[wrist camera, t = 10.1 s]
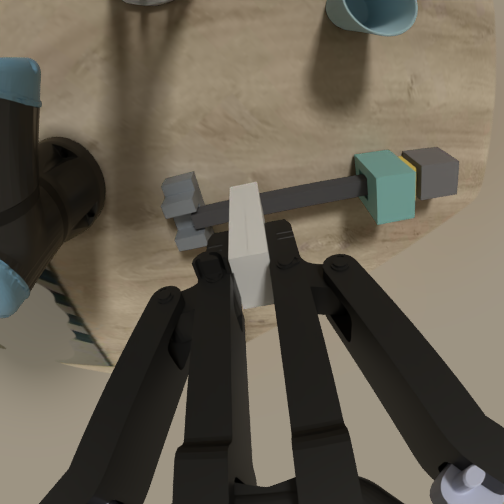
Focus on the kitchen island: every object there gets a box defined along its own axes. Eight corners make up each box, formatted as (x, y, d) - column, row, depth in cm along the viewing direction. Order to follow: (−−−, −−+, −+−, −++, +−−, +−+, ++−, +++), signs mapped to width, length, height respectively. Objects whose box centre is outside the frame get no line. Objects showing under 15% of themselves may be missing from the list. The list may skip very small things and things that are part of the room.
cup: (387, 7, 27) (430, -1, 18) (358, 50, 31) (394, 52, 22) (336, -28, 25) (365, -50, 16) (305, 16, 29) (326, 3, 20)
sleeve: (357, 195, 42) (377, 224, 35) (354, 154, 38) (376, 178, 32) (390, 189, 41) (414, 217, 35) (388, 149, 38) (415, 171, 31)
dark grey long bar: (201, 224, 43) (197, 242, 39) (191, 196, 40) (186, 211, 37) (435, 180, 39) (451, 193, 36) (436, 151, 37) (453, 163, 33)
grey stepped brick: (188, 240, 46) (183, 261, 42) (165, 178, 40) (156, 194, 36) (214, 234, 46) (212, 255, 41) (193, 171, 40) (187, 186, 36)
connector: (403, 182, 41) (420, 200, 36) (402, 151, 38) (421, 165, 34) (437, 177, 40) (456, 194, 36) (437, 147, 38) (459, 161, 33)
